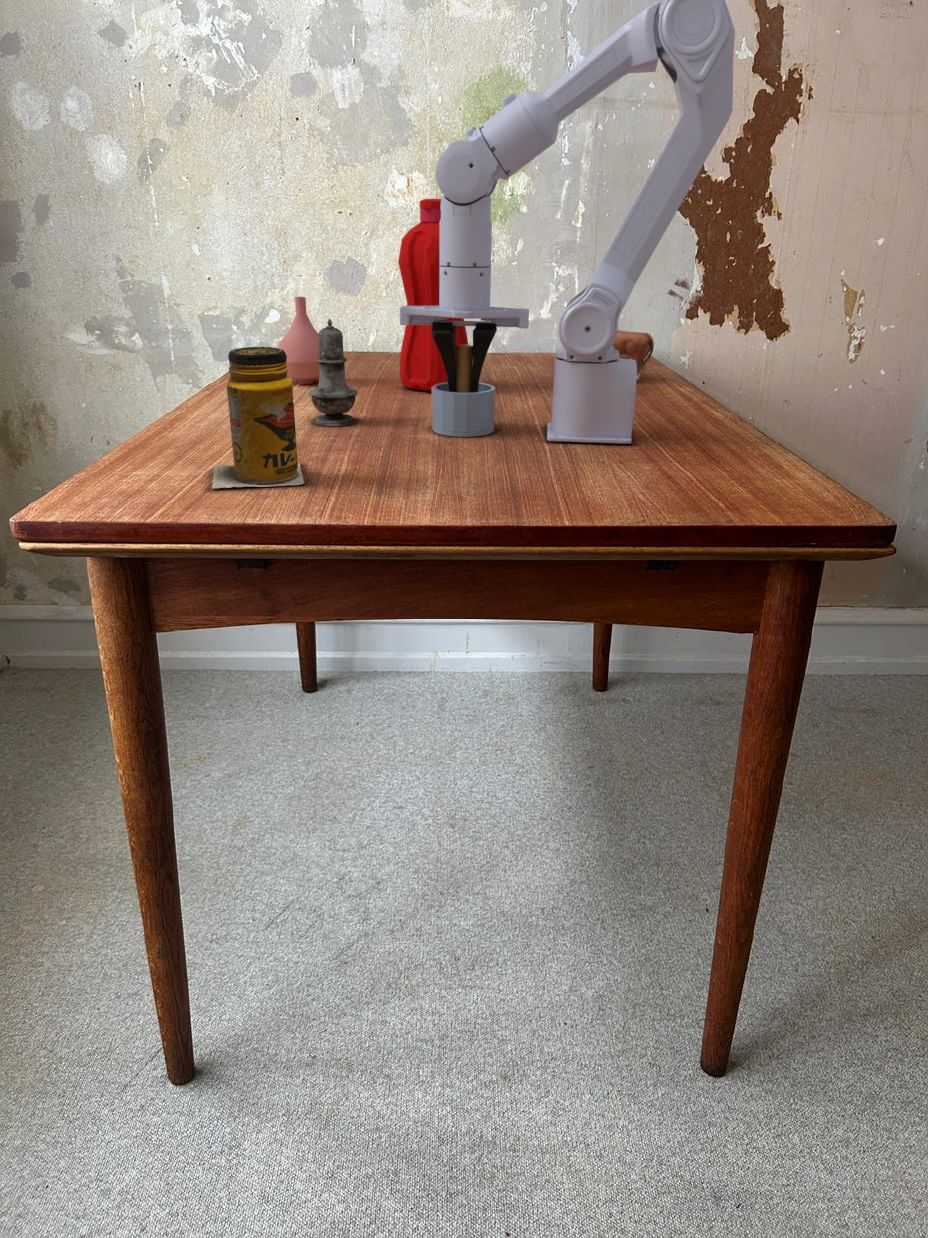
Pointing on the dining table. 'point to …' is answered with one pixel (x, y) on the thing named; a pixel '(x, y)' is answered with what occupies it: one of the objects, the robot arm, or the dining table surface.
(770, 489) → the dining table surface
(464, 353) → the brush
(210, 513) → the dining table surface
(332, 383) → the salt shaker
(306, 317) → the pink vase
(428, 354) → the water bottle
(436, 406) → the beaker
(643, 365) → the bull figurine
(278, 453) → the condiment
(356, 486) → the dining table surface
